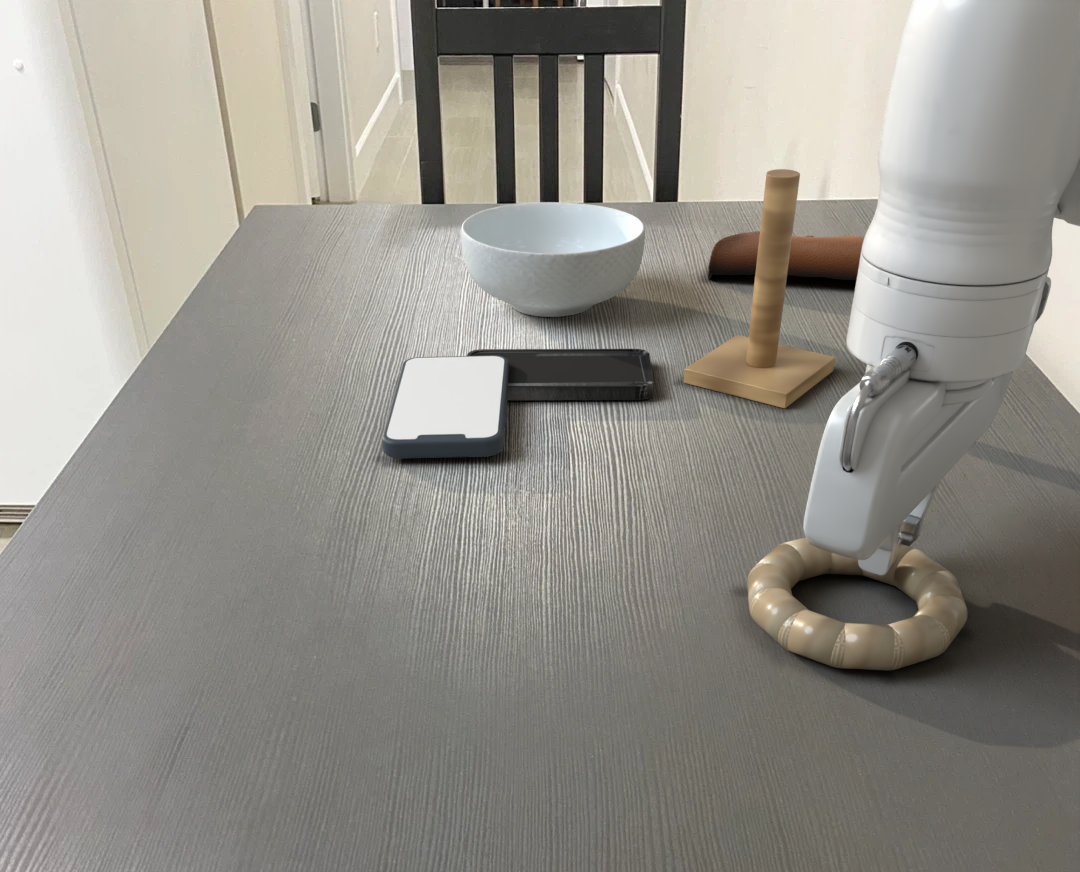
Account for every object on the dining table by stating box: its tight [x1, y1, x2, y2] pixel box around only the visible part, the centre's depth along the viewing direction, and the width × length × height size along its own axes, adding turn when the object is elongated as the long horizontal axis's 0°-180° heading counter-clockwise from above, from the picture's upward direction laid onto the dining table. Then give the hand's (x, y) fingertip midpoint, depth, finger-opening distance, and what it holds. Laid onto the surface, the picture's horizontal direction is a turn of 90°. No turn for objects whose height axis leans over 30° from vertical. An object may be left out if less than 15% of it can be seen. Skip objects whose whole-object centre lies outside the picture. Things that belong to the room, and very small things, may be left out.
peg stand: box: [683, 168, 837, 409], centre depth 84 cm, size 9×9×15 cm
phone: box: [466, 348, 654, 401], centre depth 88 cm, size 8×1×15 cm
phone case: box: [381, 355, 509, 459], centre depth 83 cm, size 9×2×16 cm
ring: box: [746, 537, 968, 671], centre depth 61 cm, size 12×12×2 cm
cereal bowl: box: [460, 201, 646, 318], centre depth 100 cm, size 17×17×7 cm
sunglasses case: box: [707, 230, 865, 281], centre depth 106 cm, size 18×7×7 cm
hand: (888, 554), depth 64 cm, fingers closed on ring, 2 cm apart
